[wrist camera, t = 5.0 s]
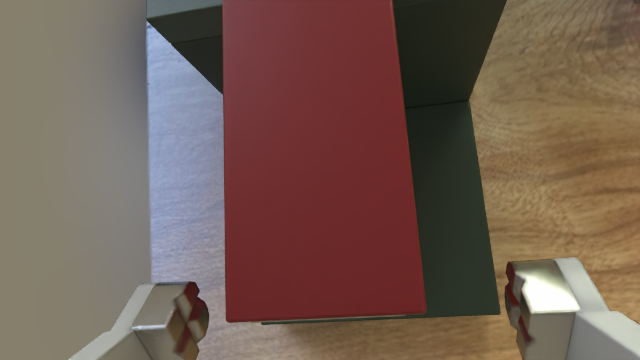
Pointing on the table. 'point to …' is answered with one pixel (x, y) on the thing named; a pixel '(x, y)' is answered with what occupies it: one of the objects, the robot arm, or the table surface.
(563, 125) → the table surface
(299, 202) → the book
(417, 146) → the shelf
